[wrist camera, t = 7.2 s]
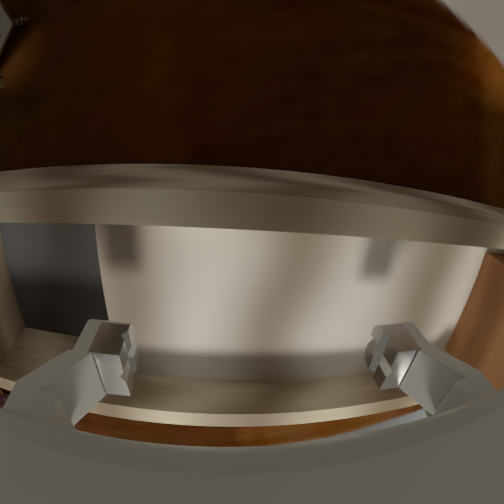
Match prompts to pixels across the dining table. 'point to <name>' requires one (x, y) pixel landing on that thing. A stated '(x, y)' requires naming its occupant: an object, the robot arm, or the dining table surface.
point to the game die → (7, 29)
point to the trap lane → (232, 283)
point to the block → (483, 323)
